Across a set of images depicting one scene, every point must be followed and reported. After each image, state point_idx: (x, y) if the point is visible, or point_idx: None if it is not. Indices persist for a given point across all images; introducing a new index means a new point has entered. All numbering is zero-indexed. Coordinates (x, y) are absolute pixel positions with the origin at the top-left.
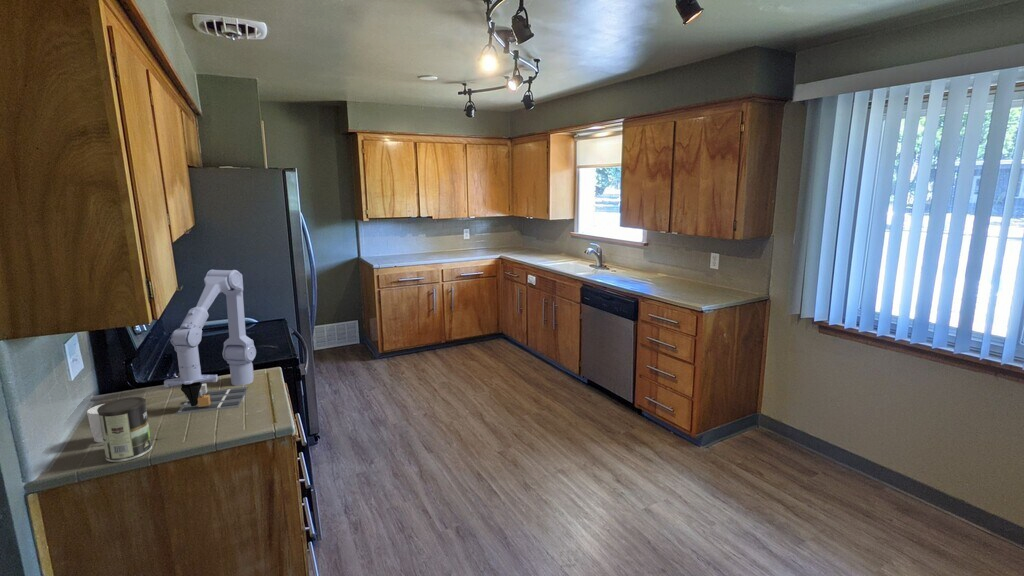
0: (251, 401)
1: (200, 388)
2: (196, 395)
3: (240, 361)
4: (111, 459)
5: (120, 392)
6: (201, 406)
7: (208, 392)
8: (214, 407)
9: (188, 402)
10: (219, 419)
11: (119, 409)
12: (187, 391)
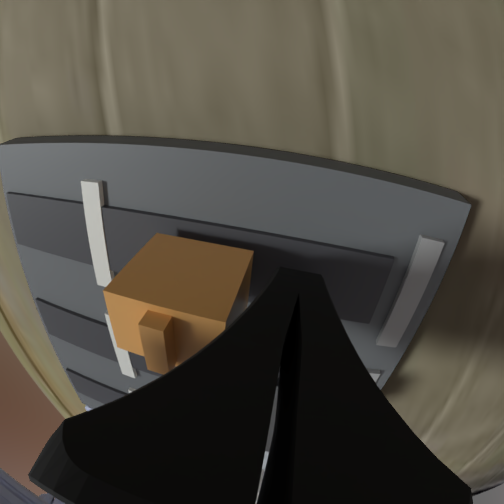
0: (13, 256)
1: (261, 478)
2: (209, 343)
3: None
4: None
5: (481, 487)
6: (224, 247)
7: None
8: (125, 209)
9: None
10: (86, 5)
11: None
12: (348, 455)
